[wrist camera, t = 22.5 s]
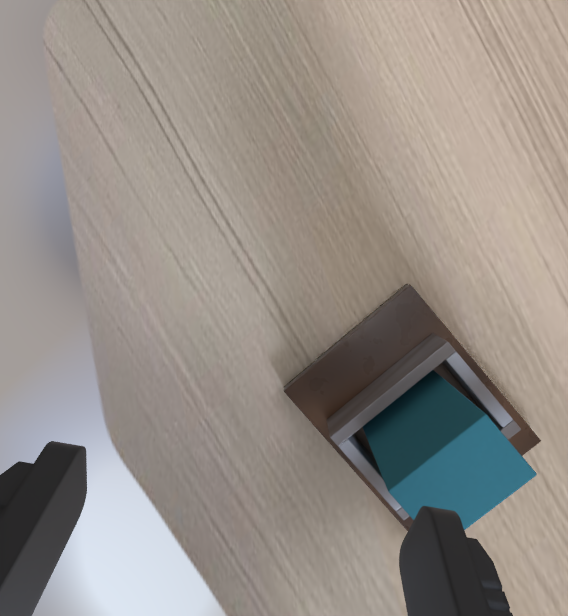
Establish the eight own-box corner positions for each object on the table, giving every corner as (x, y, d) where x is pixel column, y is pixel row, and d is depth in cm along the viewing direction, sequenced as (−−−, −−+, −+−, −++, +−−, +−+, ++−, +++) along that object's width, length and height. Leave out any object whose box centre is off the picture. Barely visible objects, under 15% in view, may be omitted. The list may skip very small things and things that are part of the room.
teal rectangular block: (360, 422, 31) (387, 491, 22) (429, 366, 31) (486, 413, 22) (398, 465, 32) (439, 549, 23) (467, 410, 31) (537, 475, 22)
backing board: (283, 386, 32) (282, 405, 28) (406, 283, 31) (423, 288, 27) (410, 530, 33) (426, 567, 29) (533, 435, 32) (567, 461, 28)
